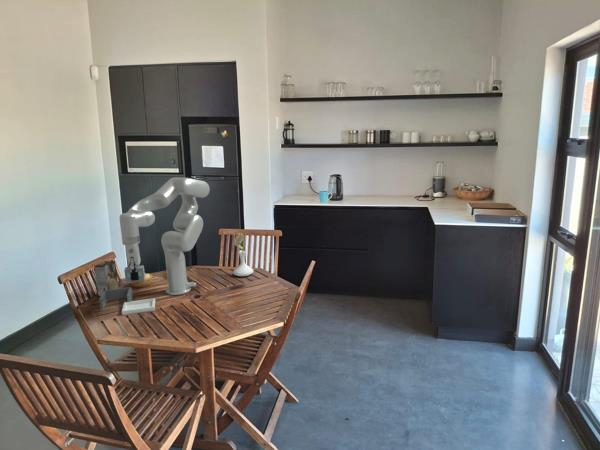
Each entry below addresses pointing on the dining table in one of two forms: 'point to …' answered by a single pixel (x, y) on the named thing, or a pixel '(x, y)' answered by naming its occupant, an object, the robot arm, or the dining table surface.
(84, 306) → the dining table surface
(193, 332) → the dining table surface
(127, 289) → the bay
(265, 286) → the dining table surface
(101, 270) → the coffee box
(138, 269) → the grey chamfered block
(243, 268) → the flower in vase
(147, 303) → the tray
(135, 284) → the pastry
